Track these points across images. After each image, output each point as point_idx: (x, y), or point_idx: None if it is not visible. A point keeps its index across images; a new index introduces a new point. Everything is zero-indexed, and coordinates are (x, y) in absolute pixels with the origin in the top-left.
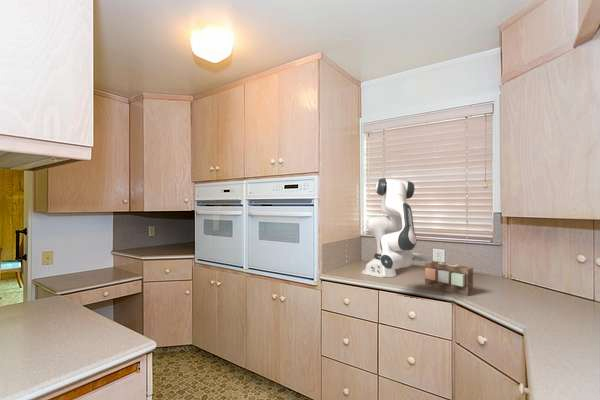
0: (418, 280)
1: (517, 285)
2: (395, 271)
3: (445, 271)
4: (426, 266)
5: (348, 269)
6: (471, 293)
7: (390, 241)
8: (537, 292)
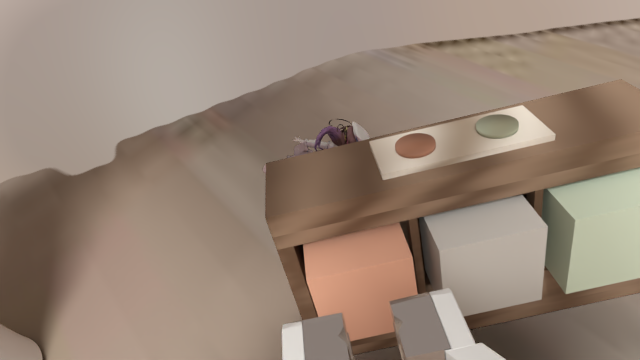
0: (213, 310)
1: (499, 60)
2: (16, 347)
3: (502, 224)
4: (289, 249)
5: None
6: None
7: None
8: (603, 56)
